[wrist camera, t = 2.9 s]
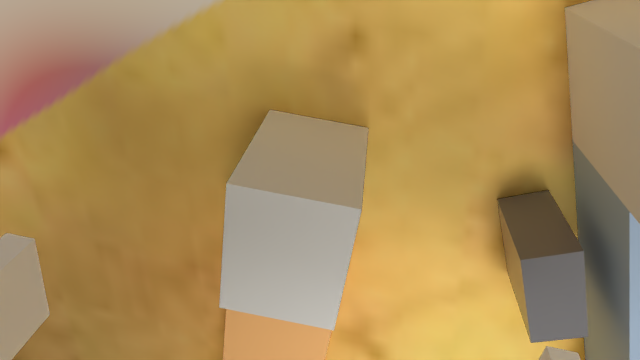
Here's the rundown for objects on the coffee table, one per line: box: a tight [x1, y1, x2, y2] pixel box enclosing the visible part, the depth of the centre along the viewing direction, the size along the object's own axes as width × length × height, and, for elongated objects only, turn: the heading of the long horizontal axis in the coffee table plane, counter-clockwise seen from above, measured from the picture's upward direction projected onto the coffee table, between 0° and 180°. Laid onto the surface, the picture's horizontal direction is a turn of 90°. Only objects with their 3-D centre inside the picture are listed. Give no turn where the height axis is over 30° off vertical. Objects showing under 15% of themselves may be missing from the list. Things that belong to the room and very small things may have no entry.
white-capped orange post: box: [219, 110, 369, 360], centre depth 21 cm, size 4×18×6 cm, turn 172°
